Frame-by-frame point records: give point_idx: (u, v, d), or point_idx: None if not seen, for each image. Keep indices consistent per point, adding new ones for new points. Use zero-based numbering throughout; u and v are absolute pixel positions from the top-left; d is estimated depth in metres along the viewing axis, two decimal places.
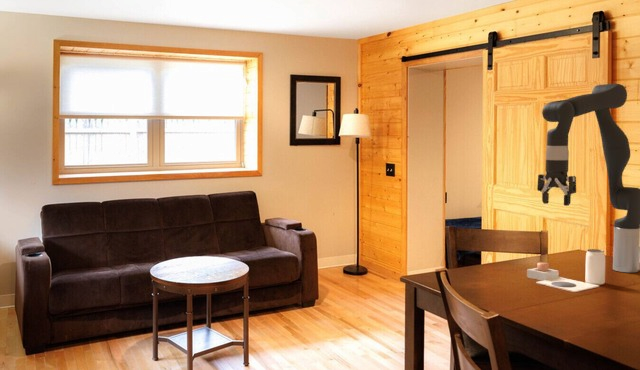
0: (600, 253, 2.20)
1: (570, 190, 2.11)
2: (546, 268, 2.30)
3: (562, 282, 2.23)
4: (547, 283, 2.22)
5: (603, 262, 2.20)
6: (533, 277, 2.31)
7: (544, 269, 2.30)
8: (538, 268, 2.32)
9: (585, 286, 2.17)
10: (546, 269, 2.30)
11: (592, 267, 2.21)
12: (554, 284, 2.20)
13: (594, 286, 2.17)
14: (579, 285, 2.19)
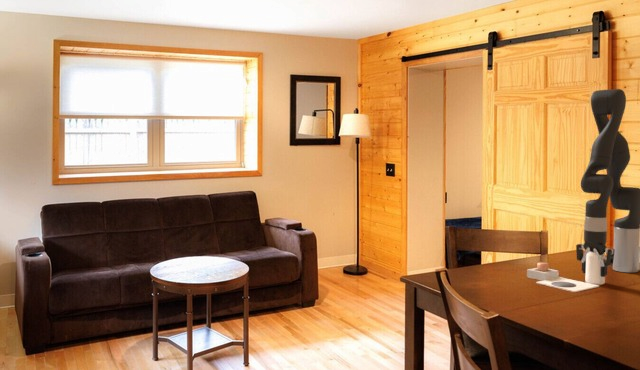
0: None
1: (607, 262, 2.17)
2: (546, 268, 2.30)
3: (562, 282, 2.23)
4: (547, 283, 2.22)
5: None
6: (533, 277, 2.31)
7: (544, 269, 2.30)
8: (538, 268, 2.32)
9: (585, 286, 2.17)
10: (546, 269, 2.30)
11: (593, 267, 2.21)
12: (554, 284, 2.20)
13: (594, 286, 2.17)
14: (579, 285, 2.19)
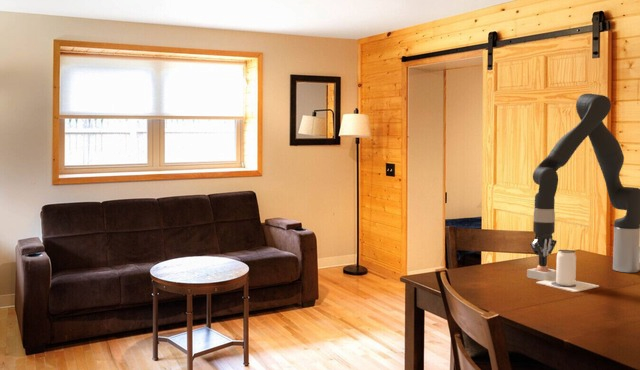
0: (571, 254, 2.17)
1: None
2: (546, 270, 2.30)
3: None
4: (547, 283, 2.22)
5: (574, 263, 2.17)
6: (533, 277, 2.31)
7: (544, 271, 2.30)
8: (538, 270, 2.32)
9: (585, 286, 2.17)
10: (546, 271, 2.30)
11: (563, 267, 2.17)
12: (554, 284, 2.20)
13: (594, 286, 2.17)
14: (579, 285, 2.19)
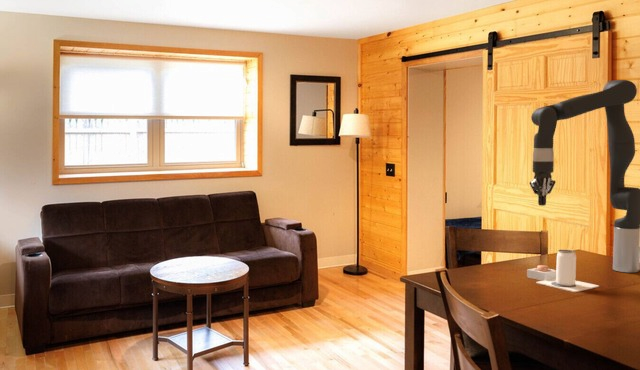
0: (571, 254, 2.17)
1: None
2: (546, 271, 2.30)
3: None
4: (547, 283, 2.22)
5: (574, 263, 2.17)
6: (533, 277, 2.31)
7: None
8: None
9: (585, 286, 2.17)
10: None
11: (563, 267, 2.17)
12: (554, 284, 2.20)
13: (594, 286, 2.17)
14: (579, 285, 2.19)
